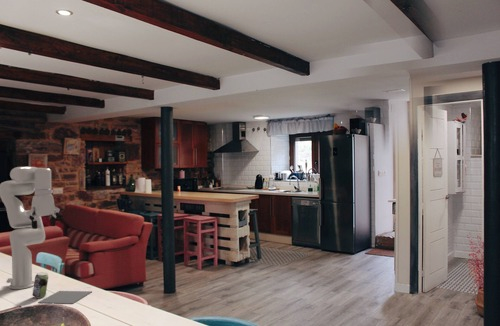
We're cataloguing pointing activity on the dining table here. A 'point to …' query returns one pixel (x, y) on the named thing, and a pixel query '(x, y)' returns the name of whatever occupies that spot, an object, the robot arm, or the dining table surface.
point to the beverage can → (40, 285)
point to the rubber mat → (65, 297)
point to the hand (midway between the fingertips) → (43, 227)
